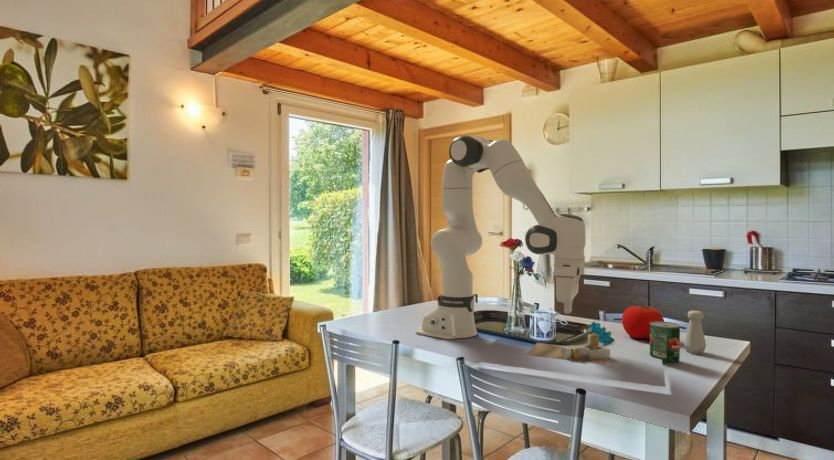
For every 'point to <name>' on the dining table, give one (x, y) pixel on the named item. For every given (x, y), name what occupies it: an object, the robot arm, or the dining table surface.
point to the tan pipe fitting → (585, 352)
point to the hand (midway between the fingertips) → (567, 312)
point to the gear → (601, 333)
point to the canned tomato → (665, 342)
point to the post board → (555, 351)
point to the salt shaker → (695, 333)
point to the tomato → (640, 320)
